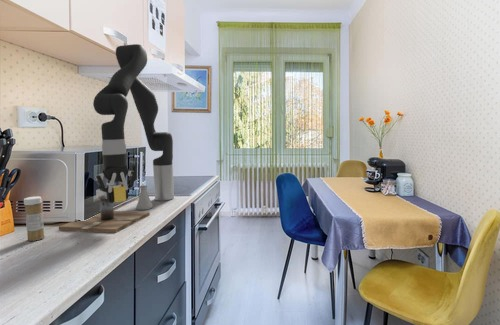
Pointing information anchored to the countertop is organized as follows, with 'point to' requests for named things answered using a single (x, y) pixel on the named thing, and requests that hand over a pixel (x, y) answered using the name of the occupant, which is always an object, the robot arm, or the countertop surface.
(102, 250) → the countertop surface
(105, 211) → the glass spice jar
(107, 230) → the board
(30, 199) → the sprinkles bottle
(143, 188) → the flask
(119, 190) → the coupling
